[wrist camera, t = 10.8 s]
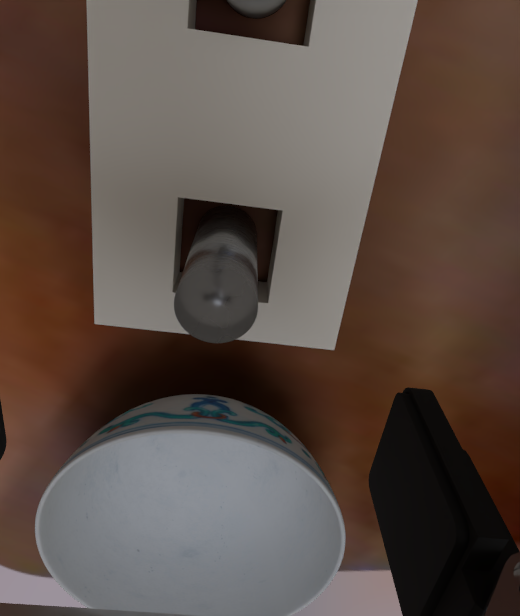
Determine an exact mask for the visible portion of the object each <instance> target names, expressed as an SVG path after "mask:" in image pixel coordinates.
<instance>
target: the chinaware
mask: <svg viewBox="0 0 520 616" xmlns="http://www.w3.org/2000/svg"><path fill="white" fill-rule="evenodd" d="M35 536H36V542H37V546H38V550H39V553H40V556H41V558H42V560H43V562H44V564H45V566H46V568H47V569H48V571H49V572H50V574H51V575H52V577H53V578H54V579H55V580H56V582H57V583H58V584H59V585H60V586H61V587H62V588H63V589H64V590H65V591H66V592H67V593H68V594H69V595H71V596H72V597H73V598H74V599H76V600H77V601H78V602H80V603H81V604H83V605H84V606H86V607H87V608H91V609H106V610H121V611H137V612H152V613H167V614H182V615H197V616H292V615H293V614H295V613H297V612H298V611H300V610H302V609H303V608H305V607H306V606H307V605H309V604H310V603H311V602H312V601H313V600H315V599H316V598H317V597H318V596H319V595H320V594H321V593H322V592H323V591H324V590H325V589H326V588H327V586H328V585H329V584H330V582H331V581H332V580H333V578H334V576H335V575H336V573H337V571H338V569H339V567H340V564H341V561H342V558H343V554H344V549H345V527H344V521H343V517H342V514H341V510H340V508H339V505H338V502H337V500H336V498H335V495H334V493H333V491H332V489H331V487H330V485H329V483H328V481H327V479H326V477H325V475H324V473H323V472H322V470H321V468H320V467H319V465H318V464H317V462H316V461H315V459H314V458H313V456H312V455H311V454H310V452H309V451H308V450H307V448H306V447H305V446H304V445H303V444H302V443H301V441H300V440H299V439H298V438H297V437H296V436H295V435H294V434H293V433H292V432H291V431H290V430H288V429H287V428H286V427H285V426H284V425H282V424H281V423H280V422H279V421H277V420H276V419H274V418H273V417H271V416H270V415H268V414H266V413H265V412H263V411H261V410H259V409H257V408H255V407H253V406H251V405H248V404H246V403H243V402H240V401H237V400H234V399H230V398H226V397H221V396H215V395H205V394H187V395H177V396H171V397H165V398H161V399H157V400H154V401H151V402H148V403H145V404H142V405H140V406H137V407H135V408H133V409H131V410H129V411H127V412H125V413H123V414H121V415H119V416H118V417H116V418H115V419H113V420H111V421H110V422H109V423H107V424H106V425H104V426H103V427H102V428H100V429H99V430H98V431H96V432H95V433H94V434H93V435H92V436H91V437H89V438H88V439H87V440H86V441H85V442H84V443H83V444H82V445H81V446H80V447H79V448H78V449H77V450H76V451H75V452H74V453H73V454H72V455H71V456H70V458H69V459H68V460H67V461H66V462H65V463H64V465H63V466H62V467H61V468H60V470H59V471H58V472H57V473H56V475H55V476H54V477H53V479H52V480H51V482H50V483H49V485H48V486H47V488H46V490H45V492H44V494H43V496H42V498H41V500H40V503H39V506H38V509H37V513H36V520H35Z"/></svg>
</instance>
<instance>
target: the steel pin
mask: <svg viewBox="0 0 520 616" xmlns="http://www.w3.org/2000/svg"><path fill="white" fill-rule="evenodd" d="M174 311H175V315H176V318H177V320H178V322H179V323H180V325H181V326H182V327H183V329H184V330H185V331H187V332H188V333H189V334H190V335H192V336H193V337H195V338H197V339H199V340H202V341H205V342H210V343H225V342H230V341H233V340H235V339H238V338H239V337H241V336H243V335H244V334H245V333H246V332H247V331H248V330H249V329H250V328H251V327H252V325H253V324H254V322H255V319H256V317H257V313H258V275H257V231H256V227H255V224H254V222H253V220H252V219H251V217H250V216H249V215H248V214H247V213H246V212H244V211H243V210H241V209H239V208H237V207H233V206H219V207H216V208H213V209H211V210H210V211H208V212H207V213H206V214H205V215H204V216H203V217H202V219H201V220H200V223H199V225H198V228H197V231H196V234H195V237H194V240H193V243H192V246H191V249H190V252H189V255H188V258H187V261H186V264H185V267H184V270H183V273H182V276H181V279H180V282H179V285H178V288H177V291H176V294H175V297H174Z"/></svg>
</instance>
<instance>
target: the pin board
mask: <svg viewBox="0 0 520 616" xmlns="http://www.w3.org/2000/svg"><path fill="white" fill-rule="evenodd" d="M226 1H227V2H228V3H229V5H230V6H231V7H232V8H233V9H234V10H235V11H236V12H238V13H239V14H241V15H243V16H246V17H249V18H256V19H257V18H264V17H267V16H270V15H272V14H273V13H275V12H276V11H278V10H279V9H280V8H281V7H282V6H283V4H284V3H285V2H286V0H226ZM417 1H418V0H310V5H309V11H308V18H307V24H306V31H305V37H304V44H303V46H300V45H293V44H287V43H280V42H274V41H267V40H261V39H254V38H248V37H241V36H235V35H228V34H222V33H215V32H208V31H202V30H195V20H196V4H197V0H87V40H88V81H89V121H90V162H91V203H92V244H93V284H94V324H100V325H109V326H118V327H127V328H136V329H145V330H154V331H164V332H173V333H182V334H189V333H188V332H187V331H185V330H184V329H183V327H182V326H181V325H180V323H179V322H178V320H177V318H176V315H175V311H174V297H175V294H176V291H177V288H178V285H179V282H180V279H181V276H182V273H183V272H180V258H181V242H182V226H183V210H184V198H188V199H196V200H204V201H212V202H219V203H227V204H235V205H243V206H250V207H258V208H266V209H274V210H278V213H277V220H276V226H275V233H274V240H273V246H272V253H271V259H270V266H269V272H268V279H267V282H261V281H258V313H257V317H256V319H255V322H254V324H253V325H252V327H251V328H250V329H249V330H248V331H247V332H246V333H245V334H244V335H243V336H241V337H239V338H238V339H237V340H246V341H255V342H264V343H273V344H282V345H291V346H301V347H310V348H319V349H328V350H334V349H335V345H336V340H337V336H338V332H339V328H340V324H341V319H342V315H343V311H344V307H345V303H346V299H347V294H348V290H349V286H350V282H351V278H352V273H353V269H354V265H355V261H356V257H357V252H358V248H359V244H360V240H361V236H362V232H363V227H364V223H365V219H366V215H367V211H368V206H369V202H370V198H371V194H372V190H373V185H374V181H375V177H376V173H377V169H378V164H379V160H380V156H381V152H382V148H383V144H384V139H385V135H386V131H387V127H388V123H389V118H390V114H391V110H392V106H393V102H394V97H395V93H396V89H397V85H398V81H399V77H400V72H401V68H402V64H403V60H404V56H405V51H406V47H407V43H408V39H409V35H410V30H411V26H412V22H413V18H414V14H415V10H416V5H417Z"/></svg>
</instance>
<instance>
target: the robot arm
mask: <svg viewBox="0 0 520 616" xmlns="http://www.w3.org/2000/svg"><path fill="white" fill-rule="evenodd" d="M5 448H6V434H5V428H4V421H3V414H2V408H1V401H0V460H1V458H2V456H3V454H4V451H5ZM369 488H370V492H371V496H372V500H373V504H374V507H375V511H376V515H377V519H378V523H379V527H380V530H381V534H382V538H383V542H384V546H385V550H386V553H387V557H388V561H389V565H390V569H391V573H392V576H393V580H394V584H395V588H396V591H397V595H398V599H399V603H400V607H401V611H402V614H403V616H520V552H519V550H518V548H517V546H516V544H515V542H514V540H513V538H512V536H511V534H510V533H509V531H508V529H507V527H506V525H505V523H504V521H503V519H502V517H501V515H500V513H499V512H498V510H497V508H496V506H495V504H494V502H493V500H492V498H491V496H490V494H489V493H488V491H487V489H486V487H485V485H484V483H483V481H482V479H481V477H480V475H479V474H478V472H477V470H476V468H475V466H474V464H473V462H472V460H471V458H470V456H469V455H468V454H467V452H466V451H465V450H463V449H462V448H461V446H460V444H459V442H458V440H457V438H456V436H455V434H454V432H453V430H452V428H451V426H450V424H449V422H448V420H447V419H446V417H445V415H444V413H443V411H442V409H441V407H440V405H439V403H438V401H437V399H436V397H435V395H434V393H433V392H432V391H431V390H426V389H417V388H405V390H404V391H403V393H397V394H396V396H395V398H394V401H393V404H392V407H391V410H390V413H389V416H388V419H387V422H386V425H385V428H384V431H383V434H382V437H381V440H380V443H379V446H378V449H377V452H376V455H375V458H374V461H373V464H372V467H371V470H370V474H369ZM0 616H197V615H182V614H167V613H152V612H137V611H121V610H106V609H91V608H75V607H57V606H41V605H25V604H8V603H0Z"/></svg>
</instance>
